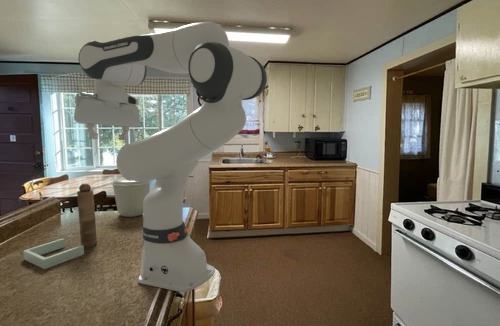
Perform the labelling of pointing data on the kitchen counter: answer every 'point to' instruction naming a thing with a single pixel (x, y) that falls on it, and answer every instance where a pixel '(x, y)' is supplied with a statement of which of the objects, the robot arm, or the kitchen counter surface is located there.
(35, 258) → the box
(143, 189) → the canister
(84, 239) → the pepper mill
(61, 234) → the kitchen counter surface
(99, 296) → the kitchen counter surface
